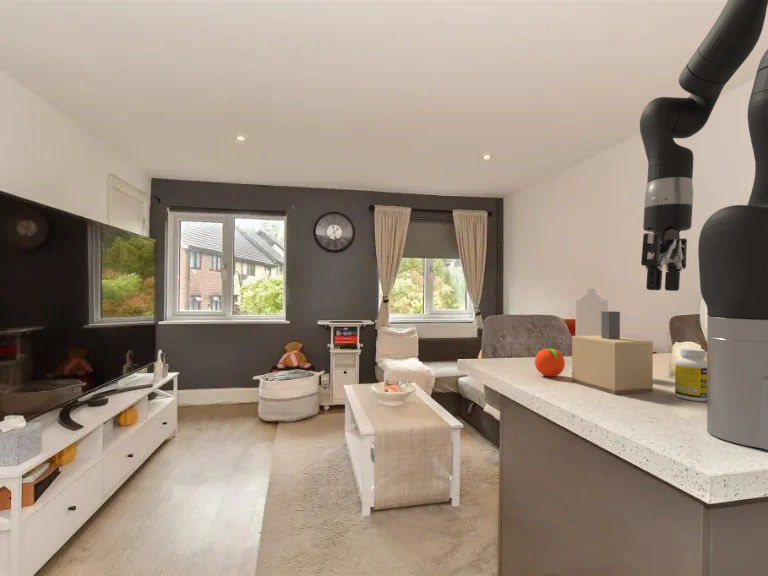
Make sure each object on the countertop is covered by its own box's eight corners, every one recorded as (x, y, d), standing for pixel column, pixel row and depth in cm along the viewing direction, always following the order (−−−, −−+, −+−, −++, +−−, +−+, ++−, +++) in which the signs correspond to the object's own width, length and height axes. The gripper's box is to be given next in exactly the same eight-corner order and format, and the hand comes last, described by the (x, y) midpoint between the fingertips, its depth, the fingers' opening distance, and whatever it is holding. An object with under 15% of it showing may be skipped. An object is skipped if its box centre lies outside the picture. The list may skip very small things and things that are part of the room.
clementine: (571, 380, 95) (572, 350, 95) (542, 380, 95) (542, 350, 95) (557, 373, 103) (557, 346, 103) (530, 373, 103) (530, 345, 103)
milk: (607, 372, 106) (608, 288, 106) (599, 375, 102) (600, 288, 102) (583, 368, 111) (584, 288, 111) (574, 371, 106) (575, 288, 107)
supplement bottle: (705, 403, 76) (705, 351, 76) (671, 397, 80) (671, 348, 80) (712, 399, 80) (712, 349, 80) (679, 393, 84) (679, 346, 84)
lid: (652, 344, 85) (652, 312, 85) (614, 345, 82) (615, 313, 82) (606, 337, 97) (607, 310, 97) (572, 338, 94) (572, 310, 94)
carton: (652, 391, 85) (652, 344, 85) (614, 394, 82) (614, 345, 82) (606, 379, 96) (606, 338, 97) (572, 381, 94) (572, 338, 94)
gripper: (676, 197, 69) (671, 291, 70) (705, 207, 78) (700, 291, 78) (629, 202, 75) (624, 289, 76) (660, 212, 84) (656, 289, 84)
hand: (663, 290), depth 77 cm, fingers open, 8 cm apart
